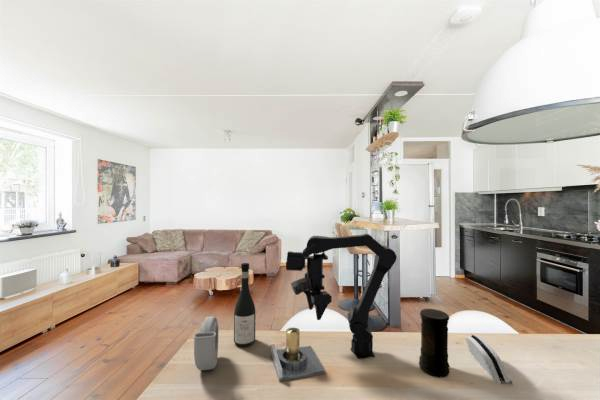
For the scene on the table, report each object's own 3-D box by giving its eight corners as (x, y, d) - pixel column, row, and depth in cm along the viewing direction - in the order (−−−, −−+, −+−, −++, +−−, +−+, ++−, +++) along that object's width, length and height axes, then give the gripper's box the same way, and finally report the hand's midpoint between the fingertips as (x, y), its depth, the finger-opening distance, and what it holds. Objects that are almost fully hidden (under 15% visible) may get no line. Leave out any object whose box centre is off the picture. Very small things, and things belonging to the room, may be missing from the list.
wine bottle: (255, 347, 101) (255, 265, 101) (233, 348, 100) (233, 266, 100) (255, 336, 109) (255, 260, 109) (234, 337, 108) (235, 261, 108)
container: (424, 357, 95) (425, 305, 95) (453, 369, 88) (453, 313, 88) (414, 368, 88) (414, 313, 88) (444, 382, 82) (444, 322, 82)
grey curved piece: (515, 385, 81) (503, 352, 81) (499, 389, 81) (487, 356, 82) (485, 353, 97) (475, 326, 98) (471, 357, 98) (461, 330, 98)
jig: (310, 348, 100) (310, 339, 100) (324, 373, 85) (324, 362, 85) (271, 354, 96) (271, 344, 96) (279, 381, 82) (279, 370, 82)
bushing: (294, 355, 94) (294, 325, 94) (302, 361, 90) (302, 330, 90) (283, 360, 91) (283, 329, 91) (291, 366, 87) (291, 334, 88)
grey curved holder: (202, 352, 97) (203, 310, 97) (221, 351, 98) (222, 309, 98) (192, 384, 80) (192, 333, 80) (215, 382, 81) (215, 331, 81)
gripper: (287, 266, 106) (287, 306, 106) (299, 280, 88) (299, 328, 88) (314, 264, 109) (314, 304, 109) (332, 277, 91) (332, 324, 91)
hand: (314, 314), depth 99 cm, fingers open, 9 cm apart
